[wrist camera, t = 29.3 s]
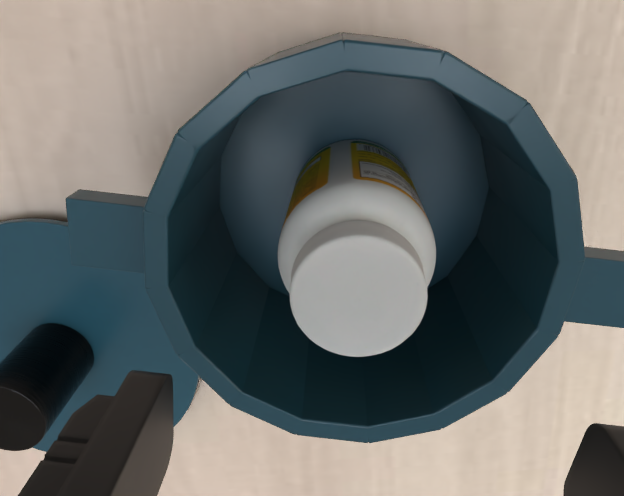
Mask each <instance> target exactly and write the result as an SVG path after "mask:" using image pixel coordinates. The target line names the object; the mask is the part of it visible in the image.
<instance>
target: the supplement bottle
mask: <svg viewBox="0 0 624 496" xmlns="http://www.w3.org/2000/svg"><path fill="white" fill-rule="evenodd" d="M435 263H436V244H435V239H434V234H433V231H432V228H431V225H430V223H429V220H428V218H427V215H426V213H425V211H424V208H423V206H422V204H421V201H420V199H419V197H418V194H417V192H416V190H415V187H414V185H413V183H412V180H411V178H410V176H409V174H408V172H407V170H406V168H405V167H404V165H403V164H402V162H401V161H400V160H399V159H398V158H397V157H396V156H395V155H394V154H393V153H392V152H391V151H389V150H388V149H386V148H384V147H383V146H381V145H378V144H376V143H373V142H370V141H366V140H344V141H339V142H335V143H333V144H330V145H328V146H326V147H324V148H322V149H321V150H319V151H318V152H317V153H316V154H314V155H313V156H312V157H311V158H310V159H309V160H308V162H307V163H306V164H305V166H304V167H303V168H302V170H301V172H300V174H299V176H298V178H297V181H296V184H295V187H294V190H293V193H292V197H291V201H290V204H289V208H288V211H287V214H286V218H285V221H284V224H283V227H282V231H281V235H280V239H279V244H278V266H279V271H280V274H281V278H282V280H283V283H284V285H285V287H286V289H287V291H288V292H289V294H290V305H291V310H292V313H293V316H294V318H295V320H296V322H297V324H298V326H299V327H300V329H301V330H302V331H303V332H304V334H305V335H306V336H307V337H308V338H309V339H310V340H311V341H313V342H314V343H315V344H317V345H318V346H320V347H322V348H323V349H326V350H328V351H330V352H333V353H336V354H339V355H344V356H351V357H365V356H372V355H377V354H381V353H383V352H386V351H389V350H391V349H393V348H395V347H396V346H398V345H400V344H401V343H402V342H404V341H405V340H406V339H407V338H408V337H409V336H411V335H412V334H413V332H414V331H415V330H416V329H417V327H418V326H419V324H420V322H421V320H422V318H423V316H424V313H425V310H426V306H427V299H428V294H427V287H428V285H429V284H430V281H431V279H432V276H433V273H434V269H435Z"/></svg>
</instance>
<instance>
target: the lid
mask: <svg viewBox="0 0 624 496" xmlns="http://www.w3.org/2000/svg"><path fill="white" fill-rule="evenodd" d="M131 370H138V371H147V372H155V373H164V374H171V375H172V378H173V427H174V426H175V425H176V424H177V423H178V422H179V421H180V420H181V418H182V417H183V415H184V414H185V413H186V411H187V410H188V408H189V406H190V404H191V402H192V399H193V397H194V395H195V392H196V389H197V385H198V382H199V378H200V377H199V376H198V375H197V374H196V373H195V372H194V371H193V370H192V369H191V368H190V367H189V366H188V365H187V364H186V363H185V362H183V361H182V360H181V359H180V358H179V357H178V355H177V354H176V353H175V351H174V349H173V347H172V345H171V343H170V340H169V338H168V336H167V334H166V332H165V330H164V328H163V326H162V324H161V321H160V319H159V317H158V315H157V313H156V311H155V309H154V307H153V304H152V302H151V300H150V298H149V296H148V294H147V292H146V288H145V276H144V273H135V272H127V271H118V270H109V269H100V268H91V267H83V266H74V265H72V263H71V252H70V241H69V230H68V222H64V221H58V220H52V219H37V218H27V219H13V220H8V221H3V222H0V449H4V450H10V451H20V450H26V449H29V448H31V447H33V448H35V449H38V450H42V451H46V452H47V451H48V450H49V448H50V447H51V445H52V444H53V442H54V441H57V439H58V435H59V433H60V432H61V430H62V429H63V427H64V426H65V424H66V423H67V421H68V420H69V418H70V417H71V415H72V414H73V413H74V412H75V411H76V410H77V409H79V408H80V407H81V406H83V405H84V404H85V403H87V402H88V401H89V400H91V399H92V398H93V397H95V396H96V395H97V394H98V395H107V396H115V395H116V393H117V391H118V389H119V388H120V386H121V384H122V383H123V381H124V379H125V378H126V376H127V374H128V373H129V372H130V371H131Z"/></svg>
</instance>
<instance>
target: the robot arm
mask: <svg viewBox="0 0 624 496" xmlns="http://www.w3.org/2000/svg"><path fill="white" fill-rule="evenodd" d="M172 445H173V378H172V375H171V374H164V373H155V372H147V371H138V370H131V371H130V372H129V373H128V374H127V376H126V378H125V379H124V381H123V383H122V384H121V386H120V388H119V389H118V391H117V393H116V395H115V396H107V395H98V394H97V395H96V396H95V397H93V398H92V399H91V400H89V401H88V402H87V403H85V404H84V405H83V406H81V407H80V408H79V409H77V410H76V411H75V412H74V413H73V414H72V415H71V417H70V418H69V420H68V421H67V423H66V424H65V426H64V427H63V429H62V430H61V432H60V433H59V435H58V439H57V441H54V442H53V444H52V445H51V447H50V448H49V450H48V451H47V453H46V454H45V458H44V460H43V461H41V462H40V463H39V465H38V466H37V468H36V469H35V471H34V472H33V474H32V475H31V477H30V478H29V480H28V481H27V483H26V484H25V486H24V487H23V489H22V490H21V492H20V493H19V495H18V496H157V494H158V492H159V489H160V486H161V484H162V481H163V478H164V476H165V473H166V470H167V467H168V464H169V460H170V456H171V451H172ZM564 496H624V427H623V426H614V425H606V424H597V423H596V424H592V425H590V426H589V427H588V429H587V430H586V432H585V435H584V437H583V439H582V442H581V444H580V447H579V449H578V451H577V454H576V456H575V458H574V461H573V463H572V466H571V468H570V470H569V473H568V475H567V478H566V480H565V484H564Z"/></svg>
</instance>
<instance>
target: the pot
mask: <svg viewBox="0 0 624 496" xmlns="http://www.w3.org/2000/svg"><path fill="white" fill-rule="evenodd" d="M344 140H366V141H370V142H373V143H376V144H378V145H381V146H383V147H384V148H386V149H388V150H389V151H391V152H392V153H393V154H394V155H395V156H396V157H397V158H398V159H399V160H400V161H401V162H402V164H403V165H404V167H405V168H406V170H407V172H408V174H409V176H410V178H411V180H412V183H413V185H414V187H415V190H416V192H417V194H418V197H419V199H420V201H421V204H422V206H423V208H424V211H425V213H426V215H427V218H428V220H429V223H430V225H431V228H432V231H433V234H434V239H435V244H436V263H435V269H434V273H433V276H432V279H431V281H430V284H429V285H428V287H427V294H428V299H427V306H426V310H425V313H424V316H423V318H422V320H421V322H420V324H419V326H418V327H417V329H416V330H415V331H414V332H413V334H412V335H411V336H409V337H408V338H407V339H406V340H405V341H404V342H402V343H401V344H400V345H398V346H396V347H395V348H393V349H391V350H389V351H386V352H383V353H381V354H377V355H372V356H365V357H351V356H344V355H339V354H336V353H333V352H330V351H328V350H326V349H323V348H322V347H320V346H318V345H317V344H315V343H314V342H313V341H311V340H310V339H309V338H308V337H307V336H306V335H305V334H304V332H303V331H302V330H301V329H300V327H299V326H298V324H297V322H296V320H295V318H294V316H293V313H292V310H291V305H290V294H289V292H288V291H287V289H286V287H285V285H284V283H283V280H282V278H281V274H280V271H279V266H278V244H279V239H280V235H281V231H282V227H283V224H284V221H285V218H286V214H287V211H288V208H289V204H290V201H291V197H292V193H293V190H294V187H295V184H296V181H297V178H298V176H299V174H300V172H301V170H302V168H303V167H304V166H305V164H306V163H307V162H308V160H309V159H310V158H311V157H312V156H313V155H314V154H316V153H317V152H318V151H319V150H321V149H322V148H324V147H326V146H328V145H330V144H333V143H335V142H339V141H344ZM66 208H67V219H68V230H69V241H70V252H71V263H72V265H74V266H83V267H91V268H100V269H109V270H118V271H127V272H135V273H144V276H145V288H146V292H147V294H148V296H149V298H150V300H151V302H152V304H153V307H154V309H155V311H156V313H157V315H158V317H159V319H160V321H161V324H162V326H163V328H164V330H165V332H166V334H167V336H168V338H169V340H170V343H171V345H172V347H173V349H174V351H175V353H176V354H177V355H178V357H179V358H180V359H181V360H182V361H183V362H185V363H186V364H187V365H188V366H189V367H190V368H191V369H192V370H193V371H194V372H195V373H196V374H197V375H198V376H199V377H200V378H201V379H203V380H204V381H205V382H206V383H207V384H208V385H209V386H210V387H211V388H212V389H213V390H214V391H215V392H216V393H217V394H218V395H219V396H221V397H222V398H223V399H224V400H225V401H226V402H227V403H228V404H230V406H232V407H234V408H237V409H239V410H241V411H243V412H245V413H248V414H250V415H252V416H254V417H257V418H259V419H261V420H263V421H266V422H268V423H270V424H272V425H274V426H277V427H279V428H281V429H283V430H286V431H288V432H290V433H292V434H297V435H302V436H311V437H319V438H328V439H337V440H346V441H355V442H363V443H368V442H369V443H373V442H378V441H383V440H388V439H394V438H399V437H404V436H409V435H415V434H420V433H425V432H430V431H436V430H440V429H441V428H445V427H447V426H448V425H450V424H452V423H454V422H456V421H458V420H459V419H461V418H463V417H465V416H467V415H468V414H470V413H472V412H474V411H476V410H478V409H479V408H481V407H483V406H485V405H487V404H489V403H490V402H492V401H494V400H496V399H498V398H499V397H501V396H503V395H505V394H506V393H507V392H509V391H510V390H511V389H512V388H513V387H514V386H515V384H516V383H517V382H518V381H519V380H520V379H521V378H522V377H523V375H524V374H525V373H526V372H527V371H528V370H529V369H530V368H531V366H532V365H533V364H534V363H535V362H536V361H537V360H538V359H539V357H540V356H541V355H542V354H543V353H544V352H545V351H546V350H547V348H548V347H549V346H550V345H551V344H552V343H553V342H554V341H555V339H556V338H557V337H558V334H560V331H561V328H562V326H563V323H564V321H566V322H575V323H584V324H593V325H602V326H610V327H619V328H624V251H618V250H609V249H600V248H591V247H584V241H583V231H582V221H581V212H580V202H579V192H578V182H577V178H576V175H575V173H574V172H573V170H572V169H571V167H570V166H569V164H568V162H567V161H566V159H565V158H564V156H563V154H562V153H561V151H560V150H559V148H558V147H557V145H556V143H555V142H554V140H553V139H552V137H551V136H550V134H549V132H548V131H547V129H546V128H545V126H544V125H543V123H542V121H541V120H540V118H539V117H538V115H537V114H536V112H535V110H534V109H533V107H532V106H531V104H530V103H529V102H527V100H526V99H524V98H522V97H521V96H519V95H517V94H516V93H514V92H513V91H511V90H509V89H508V88H506V87H504V86H503V85H501V84H499V83H498V82H496V81H494V80H493V79H491V78H490V77H488V76H486V75H485V74H483V73H481V72H480V71H478V70H476V69H475V68H473V67H472V66H470V65H468V64H467V63H465V62H463V61H462V60H460V59H458V58H457V57H455V56H453V55H452V54H450V53H449V52H446V51H443V50H440V49H436V48H433V47H429V46H426V45H422V44H419V43H415V42H412V41H408V40H404V39H395V38H386V37H378V36H369V35H360V34H351V33H337V34H334V35H331V36H328V37H325V38H321V39H318V40H315V41H312V42H308V43H306V44H303V45H299V46H296V47H293V48H290V49H287V50H284V51H281V52H278V53H276V54H274V55H272V56H270V57H269V58H267V59H265V60H263V61H261V62H259V63H257V64H256V65H254V66H252V67H250V68H248V69H247V70H245V71H244V72H243V73H241V74H240V75H239V76H238V77H237V78H236V79H235V80H234V81H232V82H231V83H230V84H229V85H228V86H227V87H226V88H225V89H223V90H222V91H221V92H220V93H219V94H218V95H217V96H216V97H215V98H213V99H212V100H211V101H210V102H209V103H208V104H207V105H206V106H204V107H203V108H202V109H201V110H200V111H199V112H198V113H197V114H195V115H194V116H193V117H192V118H191V119H190V120H189V121H188V122H187V123H185V124H184V125H183V126H182V127H181V128H180V129H179V130H178V132H177V133H176V134H175V136H174V138H173V141H172V143H171V145H170V147H169V150H168V152H167V154H166V157H165V159H164V161H163V164H162V166H161V168H160V171H159V173H158V175H157V178H156V180H155V182H154V185H153V187H152V189H151V192H150V194H149V196H148V197H142V196H134V195H125V194H116V193H107V192H98V191H90V190H81V189H80V190H78V191H76V192H75V193H73V194H72V195H70V196H69V197H67V198H66Z"/></svg>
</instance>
